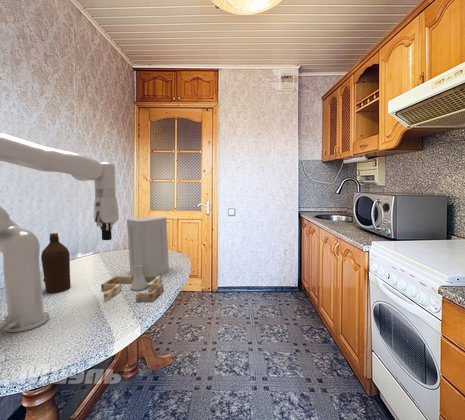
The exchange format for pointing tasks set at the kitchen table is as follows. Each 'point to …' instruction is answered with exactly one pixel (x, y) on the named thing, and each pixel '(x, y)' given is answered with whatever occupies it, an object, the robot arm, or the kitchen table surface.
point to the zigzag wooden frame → (115, 288)
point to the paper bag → (148, 245)
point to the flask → (138, 280)
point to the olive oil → (56, 266)
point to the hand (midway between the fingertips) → (106, 239)
